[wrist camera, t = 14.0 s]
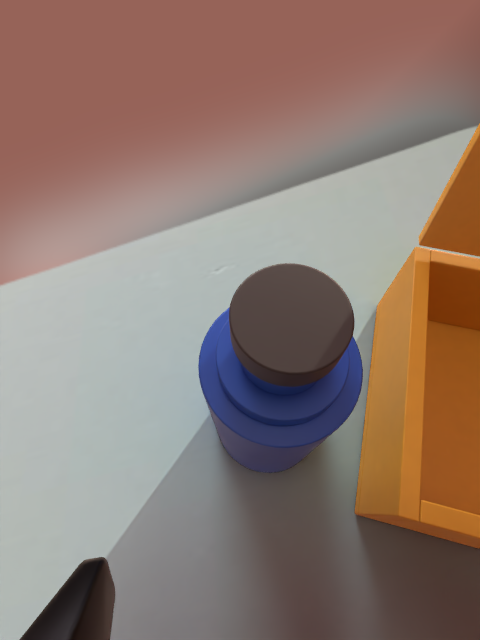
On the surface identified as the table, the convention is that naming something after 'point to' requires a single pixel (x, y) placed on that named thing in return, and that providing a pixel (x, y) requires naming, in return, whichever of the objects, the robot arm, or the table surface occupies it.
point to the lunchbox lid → (458, 207)
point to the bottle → (281, 366)
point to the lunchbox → (425, 401)
